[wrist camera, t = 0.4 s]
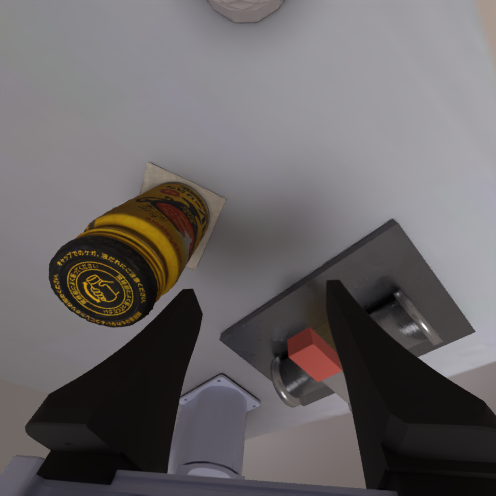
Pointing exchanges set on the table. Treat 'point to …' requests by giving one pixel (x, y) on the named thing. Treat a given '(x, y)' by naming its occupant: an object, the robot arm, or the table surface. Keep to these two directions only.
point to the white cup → (245, 9)
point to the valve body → (370, 299)
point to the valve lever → (318, 361)
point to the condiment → (135, 250)
